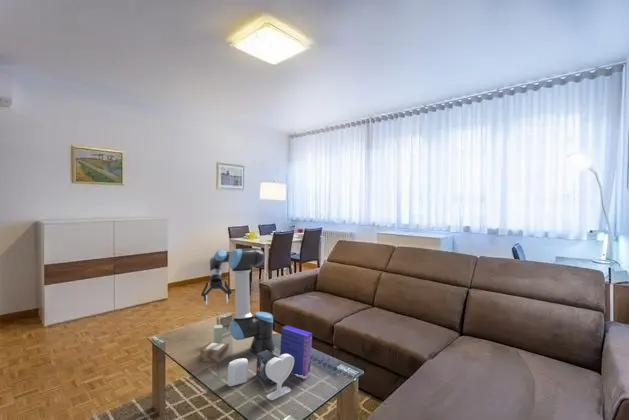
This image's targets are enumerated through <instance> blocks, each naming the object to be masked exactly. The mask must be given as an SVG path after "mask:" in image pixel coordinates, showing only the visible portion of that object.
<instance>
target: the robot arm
mask: <svg viewBox="0 0 629 420" xmlns="http://www.w3.org/2000/svg"><path fill="white" fill-rule="evenodd" d="M265 255H266V254H265V252H264V251H263V250H262V249H260V248H258V247H251V248H249V247H248V248H235V249H232V250H231V251H225V250H224V249H218V250H216V252H215V253H214V256H212V257H211V258H210V259H209V269H210V270H209V271H210V272H209V274H210V282H208V281H207V282H206V283H205V286H204V287H203V289H202V291H201V295H200V296H201V297H203V301H204V302H205V306H208V295H209V293H210V292H211V291H213V290H219V289H220V291H222V292H223V293H225V294H226V295H225V299H226V305H228V304H229V300H230V295H232V293H233V291H232V290H231V288H230V287H229V285H228V284H227V281H224V282H223V281H222V265H223V263H228V267H229V268H230V269H232V272H233V274H234V286H235V287H234V288H235V289H234V290H235V295H234V297H235V314H234V315H233V317H232V318H233V320H231V321H230V323H229V329H230V330H229V331H230V334H231V337H232V338H233V339H234V340H235V341H239V340H240V341H241V340H245V339H249V338H253V339H252V342H251V345H250V350H249V351H250V352H251V353H252V354H253V355H256V356H257V353H260V352H263V351H265V350H268V351H269V352H272V351H273V350H274V351H275V343H274V339H273V332H274V331H273V329H274V328H273V327H274V316H273V314H272V313H270V312H266V311H257V312H255V313H254V315H253V313H251V297H250V296H251V295H250V290H251V289H250V273H251V271H252V267H253V268H254V267H259V266H260V265H262V264H263V263H264V261H265V259H266V256H265ZM209 286H210V287H209ZM208 287H209V288H208ZM274 351H273V352H274ZM273 352H272V353H273Z"/></svg>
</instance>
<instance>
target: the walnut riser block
mask: <svg viewBox="0 0 629 420" xmlns="http://www.w3.org/2000/svg"><path fill="white" fill-rule="evenodd" d="M229 345H230V343H229V342H222V343H220V342H213V341H210V340H209V342H208V343H207V344H205V346H204V347H203V348H201V350H200V361H201V360H205V361H204V362H209V361H211V363H219V364H220V363H222V361H223V360H224V359H225V358H226V357H227V355H228V354H229V349H230V348H229Z"/></svg>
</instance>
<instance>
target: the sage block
mask: <svg viewBox="0 0 629 420" xmlns="http://www.w3.org/2000/svg"><path fill="white" fill-rule="evenodd" d="M223 329H224V327H223V324H215V325H213V338H212V339H213V340H212V342H220V343H223V331H224V330H223Z"/></svg>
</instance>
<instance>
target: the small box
mask: <svg viewBox="0 0 629 420" xmlns="http://www.w3.org/2000/svg"><path fill="white" fill-rule="evenodd" d="M274 357H277V358H279V357H280V356H277V355H276V354H274V352H272V353H271V352H269V351H268V350H265V351H263V352H260V353H257V355H256V370H255V371H256V372H255V373H256V376H258V377H259V378H260V379H262V380H263V381H264V382H266V383H267V384H268V385H270V386H271V385H274V384H275V383H276V382H274V381H272V380H271V379H270V378H268V376H267V375H266V370H265V368H266V364H267V362H268V361H270V360H271V359H272V358H274ZM276 384H277V383H276Z"/></svg>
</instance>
